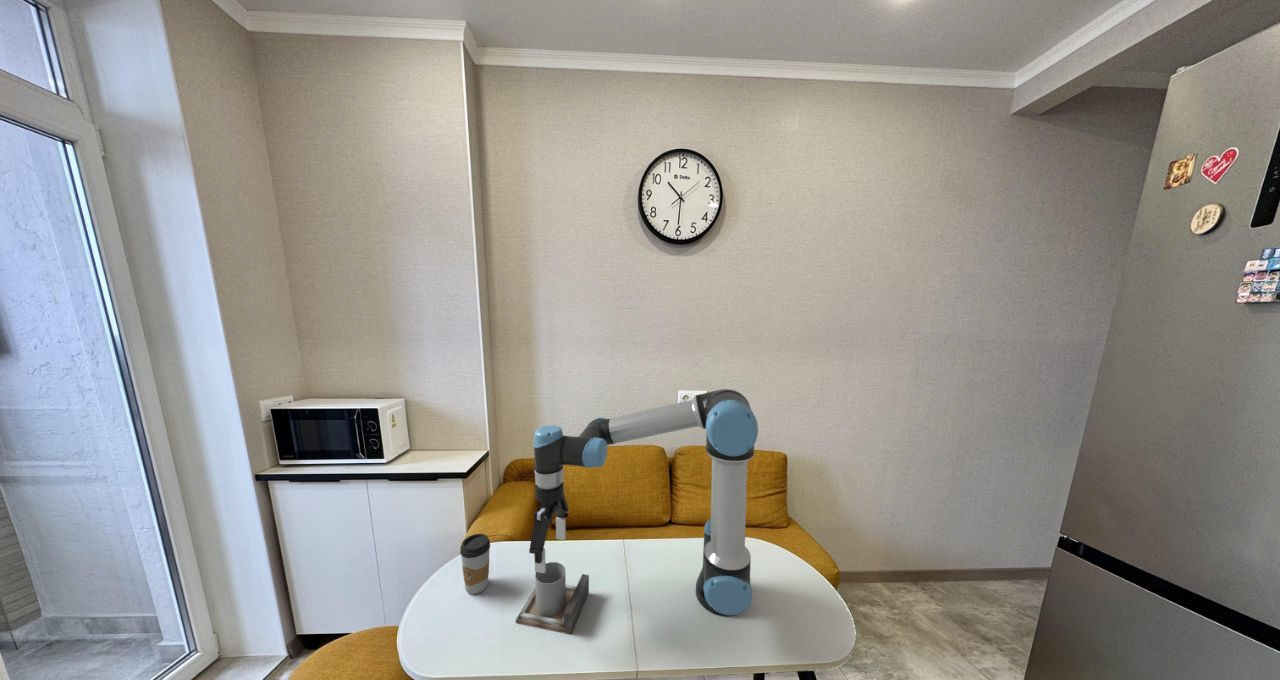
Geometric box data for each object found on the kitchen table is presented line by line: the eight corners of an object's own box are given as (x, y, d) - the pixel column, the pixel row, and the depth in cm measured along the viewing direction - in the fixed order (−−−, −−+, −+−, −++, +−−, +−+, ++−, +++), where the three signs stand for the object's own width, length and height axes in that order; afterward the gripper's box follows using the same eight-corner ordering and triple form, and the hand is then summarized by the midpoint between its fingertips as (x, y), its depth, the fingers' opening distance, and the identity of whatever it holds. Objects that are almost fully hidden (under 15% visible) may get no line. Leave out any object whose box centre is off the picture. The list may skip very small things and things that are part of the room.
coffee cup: (455, 592, 113) (453, 546, 111) (476, 573, 121) (475, 529, 119) (476, 601, 110) (475, 554, 108) (497, 581, 117) (496, 536, 116)
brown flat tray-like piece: (588, 593, 114) (588, 575, 113) (571, 634, 100) (571, 614, 99) (539, 584, 117) (539, 566, 116) (515, 622, 103) (515, 603, 102)
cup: (558, 619, 103) (557, 586, 102) (530, 613, 105) (529, 581, 103) (570, 595, 111) (569, 564, 110) (544, 590, 113) (543, 559, 112)
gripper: (555, 461, 116) (556, 525, 119) (513, 506, 92) (516, 585, 95) (578, 464, 115) (579, 528, 118) (541, 509, 91) (544, 590, 93)
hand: (551, 554), depth 106 cm, fingers open, 13 cm apart
